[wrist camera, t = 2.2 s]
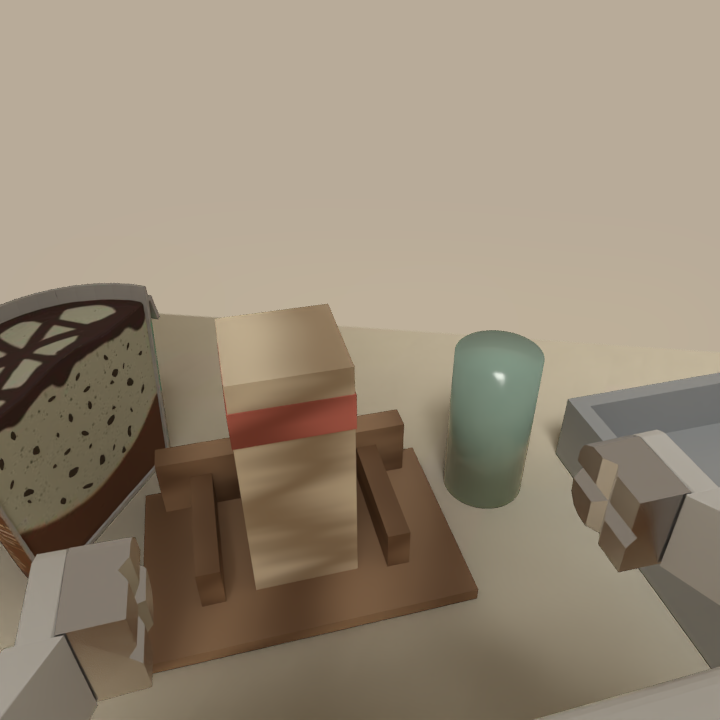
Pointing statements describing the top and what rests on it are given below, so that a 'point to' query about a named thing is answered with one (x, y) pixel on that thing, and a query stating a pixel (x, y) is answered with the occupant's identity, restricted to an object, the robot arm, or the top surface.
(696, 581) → the robot arm
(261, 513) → the birch block
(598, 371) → the top surface
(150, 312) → the food container
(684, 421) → the grey tray
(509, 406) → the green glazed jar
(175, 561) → the walnut rack
